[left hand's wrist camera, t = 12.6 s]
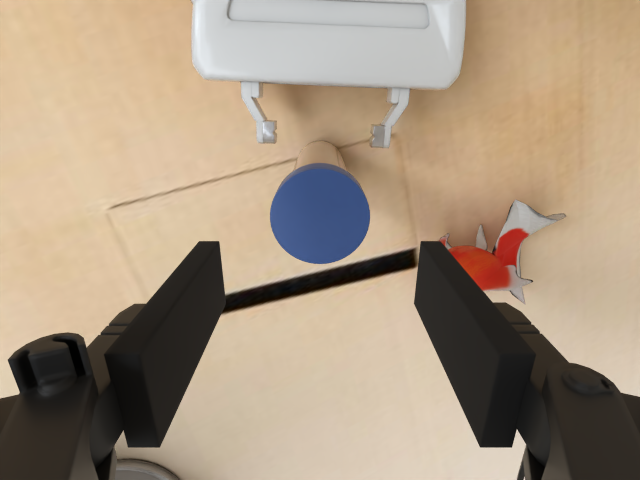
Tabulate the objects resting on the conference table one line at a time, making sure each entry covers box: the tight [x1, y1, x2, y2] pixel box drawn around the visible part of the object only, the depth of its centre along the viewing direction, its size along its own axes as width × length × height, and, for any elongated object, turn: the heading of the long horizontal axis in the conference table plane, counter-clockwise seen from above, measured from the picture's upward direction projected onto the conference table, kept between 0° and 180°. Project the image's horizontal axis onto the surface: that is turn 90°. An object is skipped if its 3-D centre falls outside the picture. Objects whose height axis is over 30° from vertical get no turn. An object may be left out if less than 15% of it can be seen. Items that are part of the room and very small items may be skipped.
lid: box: [270, 163, 370, 264], centre depth 22 cm, size 6×6×2 cm
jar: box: [293, 141, 347, 171], centre depth 29 cm, size 5×5×18 cm
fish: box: [439, 199, 566, 304], centre depth 37 cm, size 11×16×10 cm
